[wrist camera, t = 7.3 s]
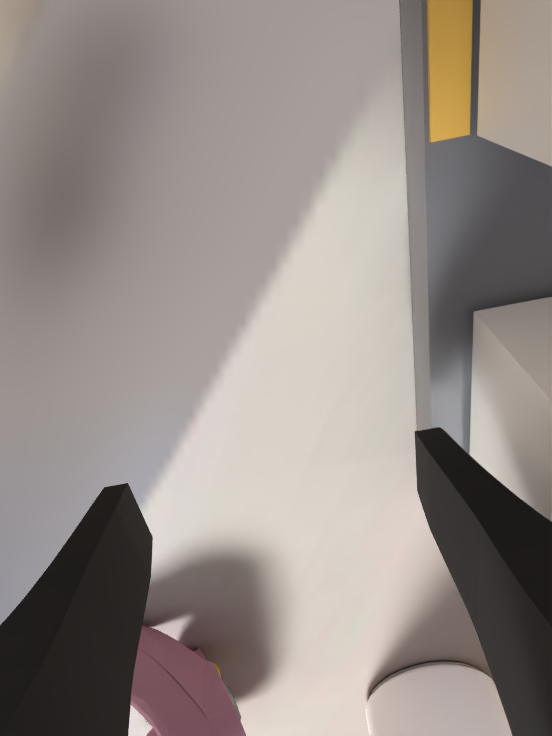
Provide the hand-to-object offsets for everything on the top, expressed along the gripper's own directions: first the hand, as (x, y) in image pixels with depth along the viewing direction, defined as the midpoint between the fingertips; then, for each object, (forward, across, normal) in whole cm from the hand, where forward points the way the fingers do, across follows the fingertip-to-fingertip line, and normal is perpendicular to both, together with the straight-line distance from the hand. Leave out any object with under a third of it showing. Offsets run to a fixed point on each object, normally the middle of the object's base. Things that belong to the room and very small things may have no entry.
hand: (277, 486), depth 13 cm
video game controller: (+4, +6, +14) cm, 16 cm away
